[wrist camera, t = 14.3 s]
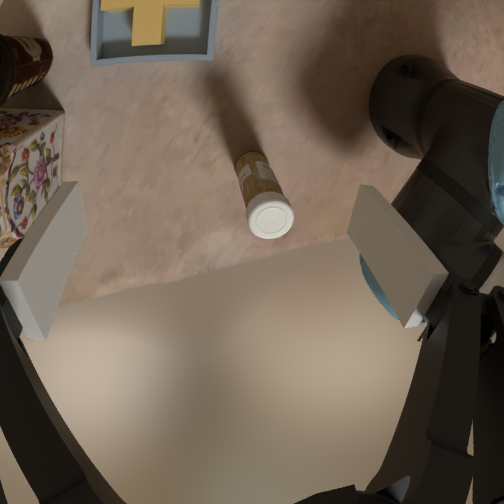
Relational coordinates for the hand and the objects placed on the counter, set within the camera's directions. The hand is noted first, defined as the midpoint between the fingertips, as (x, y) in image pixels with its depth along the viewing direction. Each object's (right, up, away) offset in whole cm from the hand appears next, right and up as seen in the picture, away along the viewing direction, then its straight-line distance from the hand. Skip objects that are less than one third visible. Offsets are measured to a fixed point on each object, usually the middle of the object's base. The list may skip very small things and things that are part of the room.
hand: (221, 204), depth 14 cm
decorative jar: (-29, +12, +20) cm, 37 cm away
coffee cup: (-26, +22, +13) cm, 36 cm away
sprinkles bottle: (+1, +9, +28) cm, 29 cm away
